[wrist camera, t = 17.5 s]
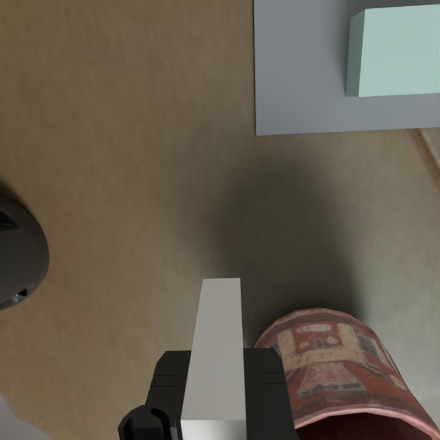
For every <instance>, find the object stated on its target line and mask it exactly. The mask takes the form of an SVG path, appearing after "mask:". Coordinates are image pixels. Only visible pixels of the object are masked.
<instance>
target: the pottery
mask: <svg viewBox="0 0 440 440" xmlns="http://www.w3.org/2000/svg"><path fill="white" fill-rule="evenodd" d="M254 348H274V349H275V350H276V352H277V353H278V354H279V356H280V357H281V358H282V361H283V367H284V373H285V378H286V383H287V388H288V394H289V399H290V404H291V410H292V415H293V421H294V426H295V430H296V433H297V436H298V437H299V439H300V440H440V430H439V429H438V427H437V426H436V424H435V423H434V422H433V420H432V419H431V417H430V416H429V415H428V414H427V412H426V411H425V410H424V408H423V407H422V406H421V404H420V403H419V402H418V401H417V399H416V398H415V397H414V395H413V394H412V393H411V391H410V390H409V389H408V387H407V385H406V383H405V382H404V380H403V378H402V376H401V374H400V372H399V370H398V369H397V367H396V365H395V363H394V361H393V359H392V358H391V356H390V354H389V353H388V351H387V350H386V348H385V347H384V346H383V344H382V343H381V341H380V340H379V338H378V337H377V335H376V334H375V333H374V331H373V330H372V329H371V328H369V327H368V326H367V325H365V324H364V323H362V322H360V321H359V320H357V319H356V318H354V317H352V316H351V315H349V314H348V313H345V312H341V311H337V310H332V309H327V308H322V307H316V308H308V309H299V310H295V311H293V312H291V313H289V314H286V315H284V316H282V317H280V318H278V319H276V320H275V321H274V322H273V323H272V324H271V325H270V326H269V328H268V329H267V330H266V331H265V332H264V333H263V334H262V335H261V336H260V337H259V339H258V341H257V343H256V345H255V347H254Z"/></svg>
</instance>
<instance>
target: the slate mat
mask: <svg viewBox="0 0 440 440" xmlns="http://www.w3.org/2000/svg"><path fill="white" fill-rule="evenodd" d="M437 4H440V0H254V41H255V104H256V136H259V135H280V134H301V133H323V132H344V131H365V130H386V129H407V128H428V127H440V93H425V94H406V95H386V96H367V97H345V94H346V79H347V64H348V49H349V34H350V18H352V17H353V16H355V15H357V14H358V13H360V12H361V11H363V10H365V9H373V8H389V7H405V6H421V5H437Z"/></svg>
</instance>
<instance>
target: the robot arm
mask: <svg viewBox="0 0 440 440" xmlns="http://www.w3.org/2000/svg"><path fill="white" fill-rule="evenodd" d="M48 264H49V252H48V246H47V242H46V240H45V237H44V235H43V232H42V231H41V229H40V227H39V225H38V224H37V223H36V221H35V220H34V219H33V217H32V216H31V215H30V214H29V213H28V212H27V211H26V210H25V209H24V208H22V207H21V206H20V205H19V204H17V203H16V202H14V201H13V200H11V199H9V198H8V197H6V196H4V195H1V194H0V312H1V311H3V310H6V309H8V308H10V307H13V306H15V305H17V304H19V303H20V302H22V301H23V300H25V299H26V298H27V297H28V296H29V295H30V294H31V293H32V292H33V291H34V290H35V289H37V288H38V286H39V285H40V284H41V283H42V281H43V279H44V278H45V275H46V273H47V270H48ZM118 432H119V437H120V440H300V439H299V437H298V436H297V433H296V430H295V426H294V421H293V415H292V410H291V404H290V399H289V394H288V388H287V383H286V378H285V373H284V367H283V361H282V358H281V357H280V356H279V354H278V353H277V352H276V350H275V349H274V348H243V337H242V313H241V288H240V278H220V279H203V282H202V289H201V295H200V301H199V308H198V314H197V320H196V327H195V333H194V339H193V345H192V351H166V352H165V353H164V354H163V356H162V357H161V358H160V359H159V360H158V362H157V364H156V367H155V371H154V374H153V378H152V382H151V385H150V389H149V392H148V396H147V399H146V403H145V405H141V406H139V407H137V408H135V409H133V410H131V411H130V412H129V413H128V414H127V415H126V416H125V417H124V418H123V419H122V421H121V423H120V425H119V426H118Z"/></svg>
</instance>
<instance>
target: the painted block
mask: <svg viewBox="0 0 440 440" xmlns="http://www.w3.org/2000/svg"><path fill="white" fill-rule="evenodd" d="M425 93H440V4H437V5H421V6H405V7H389V8H373V9H365V10H363V11H361V12H360V13H358V14H357V15H355V16H353V17H352V18H350V34H349V49H348V64H347V79H346V94H345V97H367V96H386V95H406V94H425Z"/></svg>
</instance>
